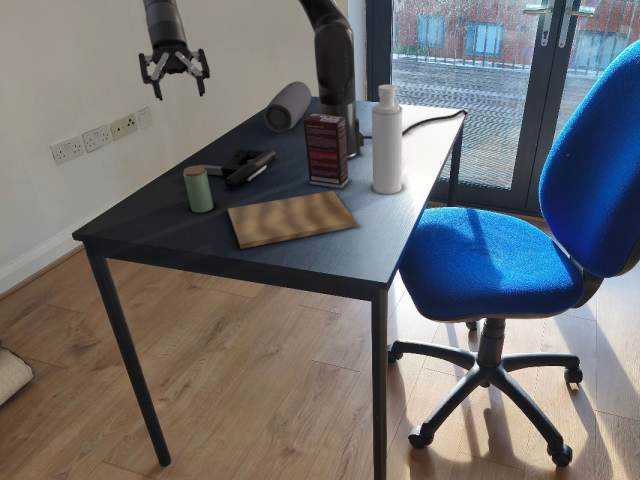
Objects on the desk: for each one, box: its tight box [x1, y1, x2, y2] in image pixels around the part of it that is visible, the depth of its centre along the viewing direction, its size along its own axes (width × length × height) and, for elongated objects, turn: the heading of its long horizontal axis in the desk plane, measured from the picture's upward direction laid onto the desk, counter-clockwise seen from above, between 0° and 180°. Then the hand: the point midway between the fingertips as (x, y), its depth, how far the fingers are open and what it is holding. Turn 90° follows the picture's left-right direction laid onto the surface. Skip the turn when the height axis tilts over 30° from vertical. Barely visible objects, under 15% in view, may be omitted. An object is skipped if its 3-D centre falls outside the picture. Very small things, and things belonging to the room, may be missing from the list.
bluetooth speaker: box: [263, 80, 312, 133], centre depth 165 cm, size 23×9×10 cm, turn 172°
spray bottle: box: [371, 84, 403, 195], centre depth 124 cm, size 7×7×25 cm
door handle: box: [198, 148, 277, 190], centre depth 139 cm, size 3×20×16 cm
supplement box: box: [303, 112, 349, 189], centre depth 130 cm, size 9×5×16 cm, turn 71°
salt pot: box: [182, 165, 214, 214], centre depth 121 cm, size 5×5×9 cm
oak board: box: [227, 190, 357, 250], centre depth 119 cm, size 24×16×1 cm, turn 111°
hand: (181, 96), depth 122 cm, fingers open, 8 cm apart
